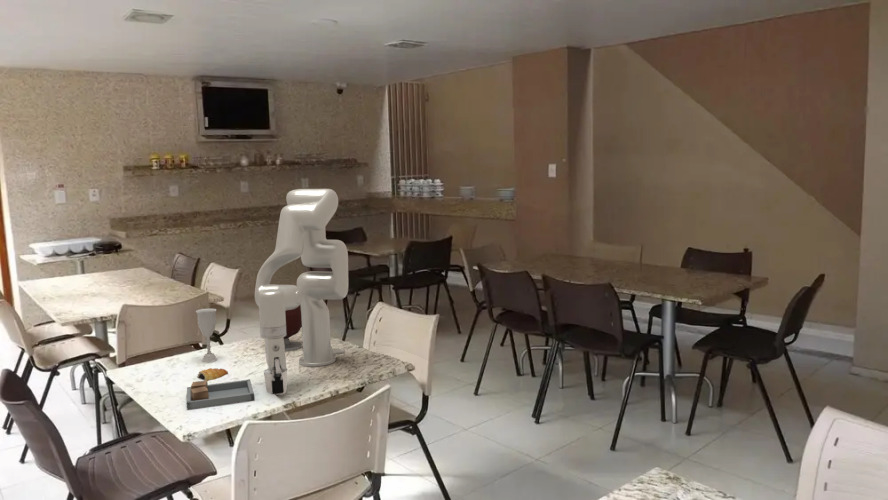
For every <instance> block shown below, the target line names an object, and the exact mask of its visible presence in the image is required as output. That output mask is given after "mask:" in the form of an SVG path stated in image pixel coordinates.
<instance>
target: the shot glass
mask: <svg viewBox="0 0 888 500" xmlns="http://www.w3.org/2000/svg"><path fill="white" fill-rule="evenodd" d="M281 369H282V367H281ZM273 370H275V368H273ZM275 374H276V372H274V375H275ZM263 375H264V376H263V377H264V383H265V389H266V392H267V393H271V394H273V393H272V381H273V379H272V372H271V371H270V370H269V368H266V369H264V370H263ZM282 379H283V390H284V392H283V393H278V394H274V395H275V396H276V397H278V396H282V395H284V394H286V393H287V387H288V384H287V382H288V368H287V367H286V370H284V369H282ZM277 395H278V396H277Z"/></svg>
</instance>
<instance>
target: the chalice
mask: <svg viewBox="0 0 888 500" xmlns="http://www.w3.org/2000/svg"><path fill="white" fill-rule="evenodd" d="M195 313H196V314H197V326H198V328H199V330H200V332H201V333H202V335H203V336H204V337H206V341H205V343H206V349H207V351H206V353H204V355H203V358H202V360H201V361H202V362H201V363H213V362H216V361H218V358H217V357H216V355H215V353H213V352H212V351H211V348H212V346H211V342H212V341H211V339H210V337H212V336H213V334H214V331H215V328H216V324H217V317H216V313H217V308H200V309H197V310H195Z"/></svg>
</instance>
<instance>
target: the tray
mask: <svg viewBox="0 0 888 500" xmlns="http://www.w3.org/2000/svg"><path fill="white" fill-rule="evenodd" d="M208 394H209V399H203V400H196V401H192V400H191V386H189V387H188V386H187V387H186V411H190V410H196V409H203V408H212V407H219V406H226V405H233V404H240V403H247V402H253V401H255V392H254V387H253V385H252V381H251V379H243V380H235V381H234V380H233V381H226V382H219V383H218V382H217V383H211V384H208Z"/></svg>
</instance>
